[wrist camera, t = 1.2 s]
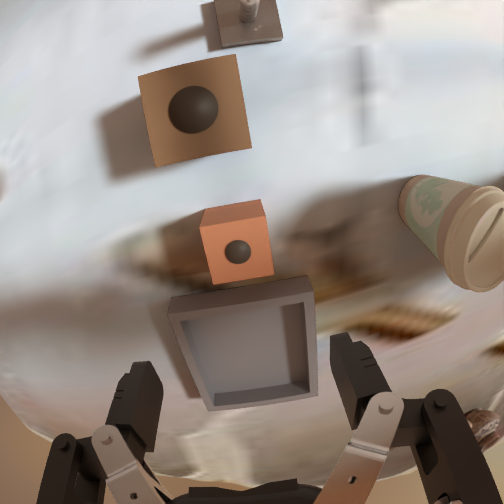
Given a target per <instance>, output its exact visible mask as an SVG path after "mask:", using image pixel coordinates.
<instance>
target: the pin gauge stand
mask: <svg viewBox="0 0 504 504" xmlns="http://www.w3.org/2000/svg"><path fill="white" fill-rule="evenodd" d="M214 4H215V9H216V15H217V20H218V26H219V31H220V37H221V42H222V48H226V47H232V46H239V45H246V44H253V43H262V42H272V41H281V40H282V38H283V33H282V28H281V24H280V19H279V14H278V9H277V5H276V0H214Z"/></svg>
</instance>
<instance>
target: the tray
mask: <svg viewBox="0 0 504 504" xmlns="http://www.w3.org/2000/svg"><path fill="white" fill-rule="evenodd" d="M167 316H168V318H169V321H170V324H171V326H172V329H173V331H174V334H175V336H176V339H177V341H178V344H179V346H180V349H181V351H182V354H183V356H184V359H185V361H186V363H187V366H188V368H189V370H190V373H191V375H192V377H193V379H194V382H195V384H196V386H197V388H198V391H199V393H200V395H201V397H202V399H203V401H204V404H205V406H206V408H207V410H208V411H219V410H229V409H239V408H247V407H255V406H262V405H269V404H276V403H282V402H288V401H294V400H299V399H304V398H309V397H314V396H318V367H317V339H316V318H315V300H314V290H313V288H312V285H311V283H310V281H309V278H308V276H301V277H296V278H290V279H284V280H279V281H273V282H267V283H261V284H255V285H249V286H243V287H237V288H230V289H224V290H218V291H211V292H204V293H198V294H191V295H184V296H177V297H172V299H171V302H170V306H169V309H168V312H167Z"/></svg>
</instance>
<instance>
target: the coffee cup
mask: <svg viewBox="0 0 504 504" xmlns="http://www.w3.org/2000/svg"><path fill="white" fill-rule="evenodd" d="M398 209H399V214H400V216H401V219H402V220H403V222H404V223H405V224H406V225H407V226H408V227H409V228H410V229H411V230H412V231H413V232H414V233H415V235H416V236H417V237H418V238H419V239H420V240H421V241H422V242H423V243H424V244H425V245H426V247H427V248H428V249H429V250H430V251H431V252H432V253H433V254H434V256H435V257H436V258H437V259H438V260H439V261H440V262H441V264H442V265H443V266H444V267H445V270H446V273H447V275H448V277H449V278H450V280H451V281H452V282H453V283H454V284H456V285H458V286H460V287H461V288H464V289H467V290H472V291H475V292H486V291H489V290H491V289H493V288H495V287H496V286H497V285H499V284H500V283H501V282H502V281H503V280H504V192H503V191H502V190H501V189H499V188H497V187H495V186H485V187H480V186H476V185H472V184H468V183H463V182H459V181H454V180H449V179H444V178H439V177H434V176H428V175H418V176H415V177H413V178H411V179H410V180H409V181H408V182H407V183H406V184H405V185H404V187H403V189H402V191H401V193H400V196H399V201H398Z"/></svg>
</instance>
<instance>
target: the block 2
mask: <svg viewBox="0 0 504 504" xmlns="http://www.w3.org/2000/svg"><path fill="white" fill-rule="evenodd" d="M199 229H200V233H201V237H202V241H203V245H204V249H205V253H206V257H207V262H208V266H209V270H210V273H211V277H212V281H213V285H215V284H221V283H227V282H233V281H239V280H245V279H252V278H258V277H263V276H269V275H274V269H273V262H272V255H271V248H270V242H269V235H268V228H267V222H266V216H265V212H264V209H263V206H262V203H261V200H260V199H258V200H252V201H246V202H241V203H235V204H229V205H224V206H218V207H213V208H207V209H205V211H204V214H203V217H202V220H201V224H200V227H199Z"/></svg>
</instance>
